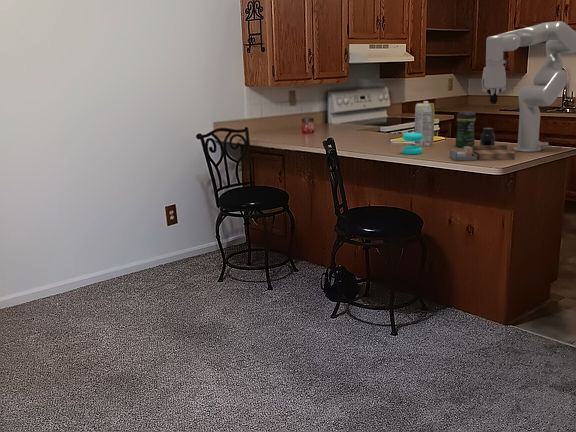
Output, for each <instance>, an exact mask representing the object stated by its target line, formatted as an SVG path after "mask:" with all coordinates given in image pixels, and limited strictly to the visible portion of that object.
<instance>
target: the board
mask: <svg viewBox="0 0 576 432" xmlns="http://www.w3.org/2000/svg"><path fill="white" fill-rule="evenodd" d="M472 153H474V154H476V155H477V161H502V160H503V161H505V160H506V159H511V160H515V159H516V152H515V151H511V150H509V149H508V145H507V144H497V145H496V144H495V145H489V146H480V145H474V146H472Z"/></svg>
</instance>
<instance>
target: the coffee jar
mask: <svg viewBox="0 0 576 432" xmlns="http://www.w3.org/2000/svg"><path fill="white" fill-rule="evenodd" d="M476 116H477V115H476V112H475V111H469V110H468V111H460V112H458V113H457V115H456V122H457V124H456V125H457V127H456V128H457V129H456V136H455V147H457V148H464V146H470V147H471V148H473V146H475V124H476V120H477V117H476Z"/></svg>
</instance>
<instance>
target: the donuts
mask: <svg viewBox="0 0 576 432" xmlns="http://www.w3.org/2000/svg"><path fill="white" fill-rule="evenodd" d="M422 138H423V135H422V134H420V133H415V132H407V133H404V134H403V135H402V139H403V141H406V142H414V143H415V141H420V140H421V139H422ZM401 150H402V151H401V152H402V153H403V154H404V155H410V156H411V155H421V154H422V153H423V148H422V146H416V145H408V146H405V147H403V148H402V149H401Z"/></svg>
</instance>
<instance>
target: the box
mask: <svg viewBox="0 0 576 432" xmlns="http://www.w3.org/2000/svg"><path fill="white" fill-rule="evenodd" d="M457 152H458V151H456V150H453V149H452V148H449V158H450V159H452V160H453V161H455V162H472V161H473V162H474V161H475V162H477V161H478V159H477V155H476V154H474V153H472V156H465V157H457Z"/></svg>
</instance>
